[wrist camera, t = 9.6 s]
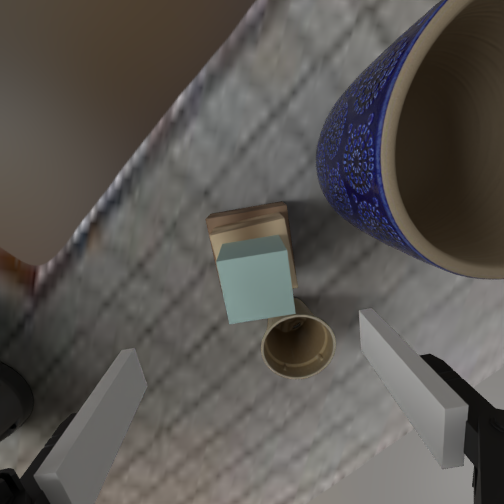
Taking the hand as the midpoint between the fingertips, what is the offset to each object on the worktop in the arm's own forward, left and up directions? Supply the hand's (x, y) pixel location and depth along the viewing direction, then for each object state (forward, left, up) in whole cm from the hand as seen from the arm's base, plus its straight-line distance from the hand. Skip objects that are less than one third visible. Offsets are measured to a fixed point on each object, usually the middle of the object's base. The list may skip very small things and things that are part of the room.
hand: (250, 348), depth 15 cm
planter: (+18, +9, -24) cm, 31 cm away
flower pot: (+4, -12, -24) cm, 27 cm away
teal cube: (+1, 0, -14) cm, 14 cm away
